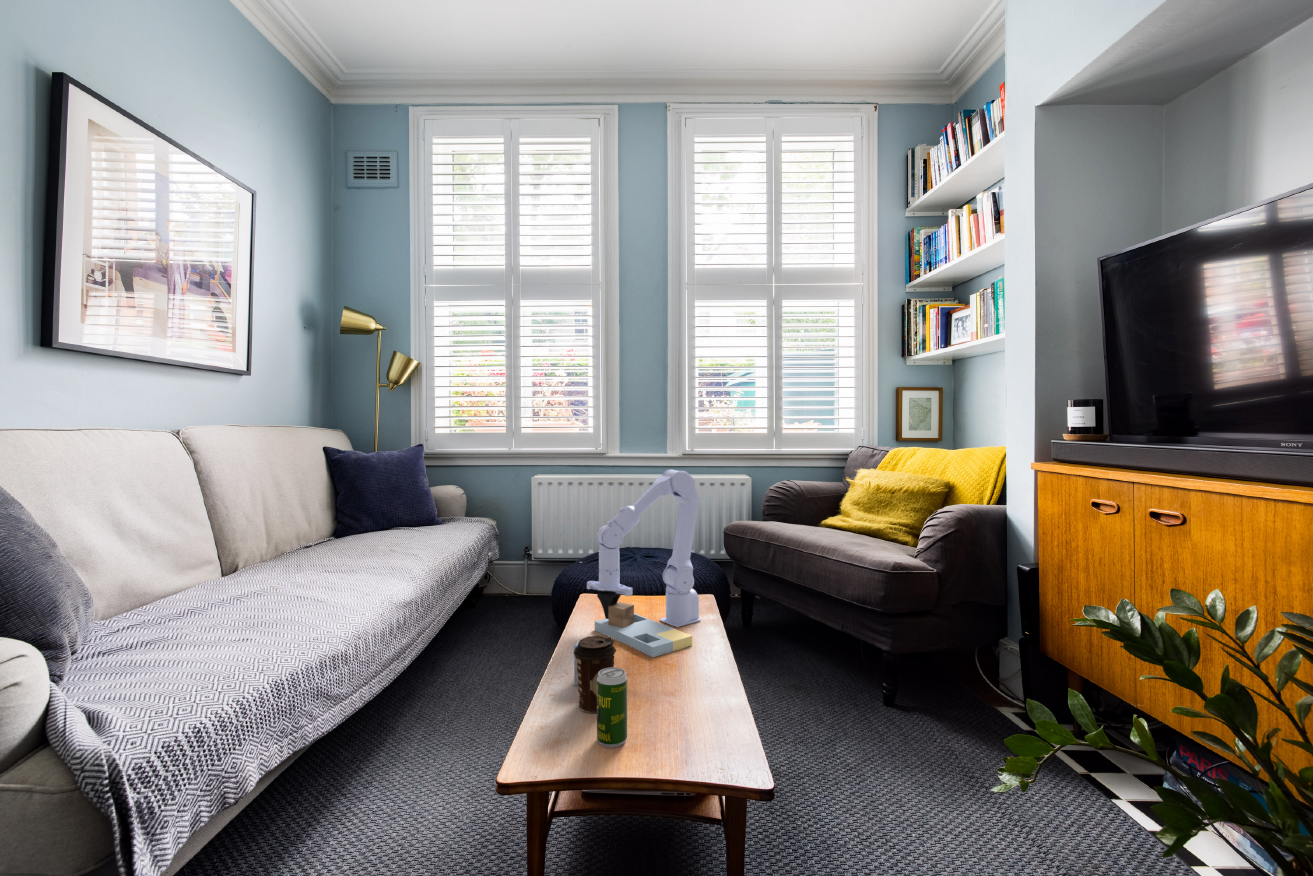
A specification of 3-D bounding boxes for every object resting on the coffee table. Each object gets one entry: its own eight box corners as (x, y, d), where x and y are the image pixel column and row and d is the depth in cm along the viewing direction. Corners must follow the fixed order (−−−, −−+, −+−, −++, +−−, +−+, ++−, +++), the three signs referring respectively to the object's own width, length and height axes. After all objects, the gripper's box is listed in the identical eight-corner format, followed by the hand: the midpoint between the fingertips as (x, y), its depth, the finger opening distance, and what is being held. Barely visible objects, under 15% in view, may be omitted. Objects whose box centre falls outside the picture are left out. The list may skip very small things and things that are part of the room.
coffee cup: (624, 701, 118) (624, 637, 118) (604, 719, 111) (604, 651, 111) (587, 694, 122) (587, 631, 122) (565, 711, 114) (565, 644, 114)
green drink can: (611, 730, 107) (611, 664, 107) (633, 739, 103) (633, 672, 103) (590, 741, 103) (590, 673, 103) (612, 752, 99) (612, 681, 99)
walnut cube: (619, 619, 164) (619, 601, 164) (633, 622, 161) (634, 604, 161) (608, 624, 159) (608, 606, 159) (623, 627, 157) (623, 609, 157)
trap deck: (632, 620, 171) (632, 612, 171) (692, 645, 150) (692, 635, 150) (594, 630, 162) (594, 621, 162) (652, 657, 142) (652, 647, 142)
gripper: (579, 568, 163) (579, 617, 163) (621, 575, 155) (621, 626, 155) (595, 564, 169) (595, 611, 169) (636, 570, 161) (636, 619, 161)
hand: (609, 617), depth 162 cm, fingers closed
